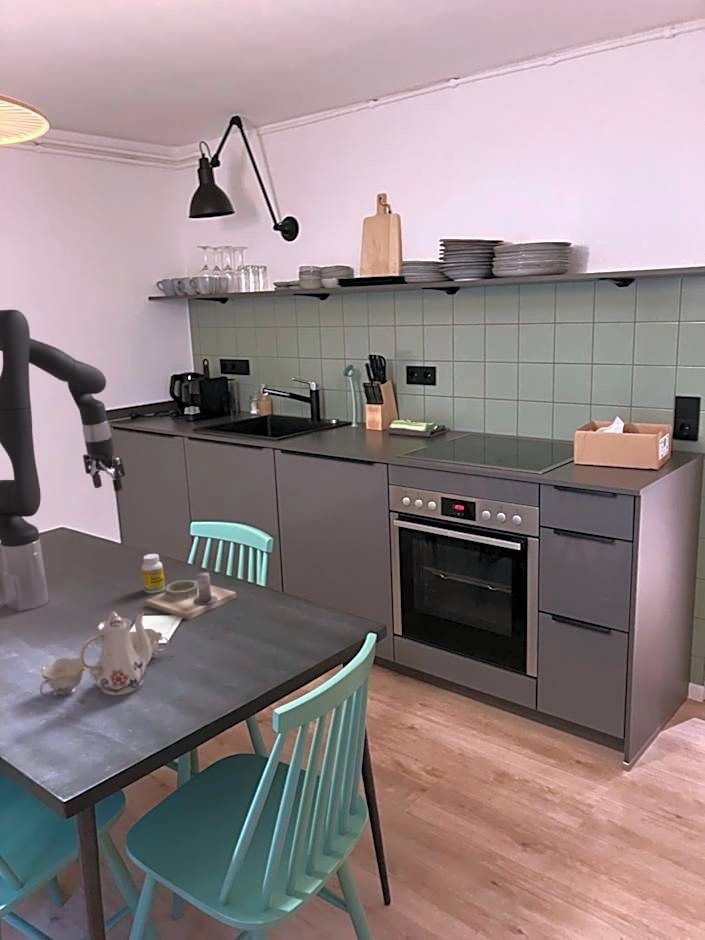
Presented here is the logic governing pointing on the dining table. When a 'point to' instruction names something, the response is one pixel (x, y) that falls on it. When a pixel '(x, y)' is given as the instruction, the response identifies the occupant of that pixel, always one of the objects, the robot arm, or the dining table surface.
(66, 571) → the dining table surface
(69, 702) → the dining table surface
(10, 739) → the dining table surface
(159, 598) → the board
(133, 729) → the dining table surface
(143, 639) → the chinaware
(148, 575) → the supplement bottle
